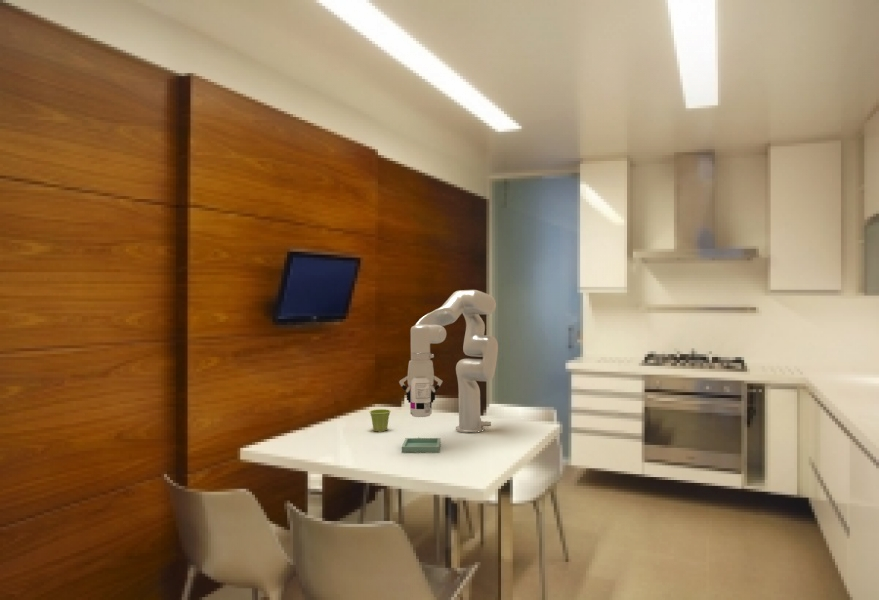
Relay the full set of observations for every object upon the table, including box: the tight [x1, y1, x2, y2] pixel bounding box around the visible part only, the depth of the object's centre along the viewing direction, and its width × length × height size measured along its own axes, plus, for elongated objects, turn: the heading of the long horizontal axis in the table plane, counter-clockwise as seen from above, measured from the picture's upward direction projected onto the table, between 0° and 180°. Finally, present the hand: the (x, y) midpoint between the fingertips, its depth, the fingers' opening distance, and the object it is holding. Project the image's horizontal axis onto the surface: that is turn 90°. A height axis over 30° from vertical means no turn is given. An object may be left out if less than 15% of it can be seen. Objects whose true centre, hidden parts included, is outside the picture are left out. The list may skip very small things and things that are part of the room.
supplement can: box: [409, 377, 433, 418], centre depth 210 cm, size 8×8×15 cm
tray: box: [401, 437, 441, 454], centre depth 209 cm, size 14×14×2 cm
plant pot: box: [369, 408, 391, 432], centre depth 241 cm, size 9×9×9 cm
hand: (420, 402), depth 210 cm, fingers closed on supplement can, 8 cm apart
